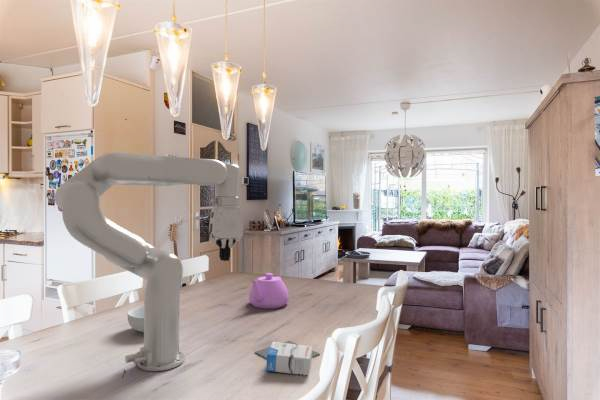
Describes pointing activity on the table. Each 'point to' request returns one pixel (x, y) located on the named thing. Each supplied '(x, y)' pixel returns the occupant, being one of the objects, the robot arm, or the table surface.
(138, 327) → the cereal bowl
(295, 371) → the ink box
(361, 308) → the table surface
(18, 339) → the table surface
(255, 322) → the table surface
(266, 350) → the mat
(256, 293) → the teapot
